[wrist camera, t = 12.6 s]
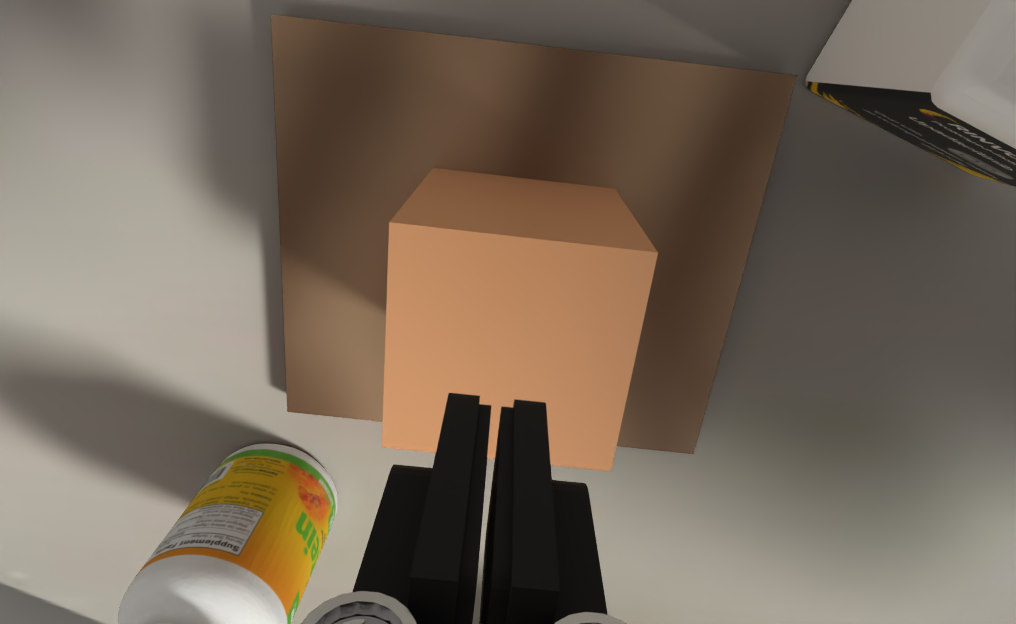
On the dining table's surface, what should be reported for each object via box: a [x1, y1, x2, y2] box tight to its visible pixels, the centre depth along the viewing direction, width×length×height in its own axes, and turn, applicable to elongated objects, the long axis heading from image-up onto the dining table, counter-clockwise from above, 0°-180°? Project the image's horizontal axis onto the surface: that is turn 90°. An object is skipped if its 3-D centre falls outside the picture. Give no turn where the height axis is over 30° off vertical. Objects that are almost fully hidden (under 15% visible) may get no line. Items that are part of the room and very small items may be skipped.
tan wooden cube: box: [382, 168, 658, 471], centre depth 18 cm, size 6×6×7 cm
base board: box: [271, 14, 797, 454], centre depth 22 cm, size 16×14×1 cm
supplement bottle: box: [118, 444, 338, 624], centre depth 22 cm, size 5×5×10 cm
